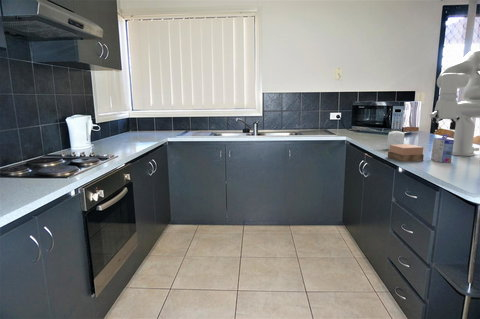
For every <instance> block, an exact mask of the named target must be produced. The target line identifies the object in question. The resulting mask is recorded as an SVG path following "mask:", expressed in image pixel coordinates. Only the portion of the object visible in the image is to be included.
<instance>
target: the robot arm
mask: <svg viewBox="0 0 480 319" xmlns="http://www.w3.org/2000/svg"><path fill="white" fill-rule="evenodd" d="M436 85H437V87H438V88H439V99H438V100H437V101H436V104H435V107H434V111H433V112H431V113H430V114H429V116H430V120H431V121H432V122H431V123H432V130H433V131H439V128H440V120H450V123H449V124H450V125H449V130H450V131H454V135H453V140H454V144H453V152H452V156H453V155H454V156H463V157H473V156H475V155H476V154H475V152H479V151H480V147H474V146H473V144H474V136H475V130H476V125H475V122H474V121H473V120H472V119H475V118H476V119H480V49H474V50H471V51H469V52H468V53H466V54H465V56H463V58H462V59H461V61H460V62H458V63H456V64H453V65H451V66H448V67H447V68H445V69H444V70H442V72H440V74H439V76H438V78H437V80H436ZM465 87H466V88H465ZM462 88H465V90H464V93H463V99H464V101H463V100H462V101H459V102H458V100H457V99H458V97H459V96H458V89H462Z"/></svg>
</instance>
